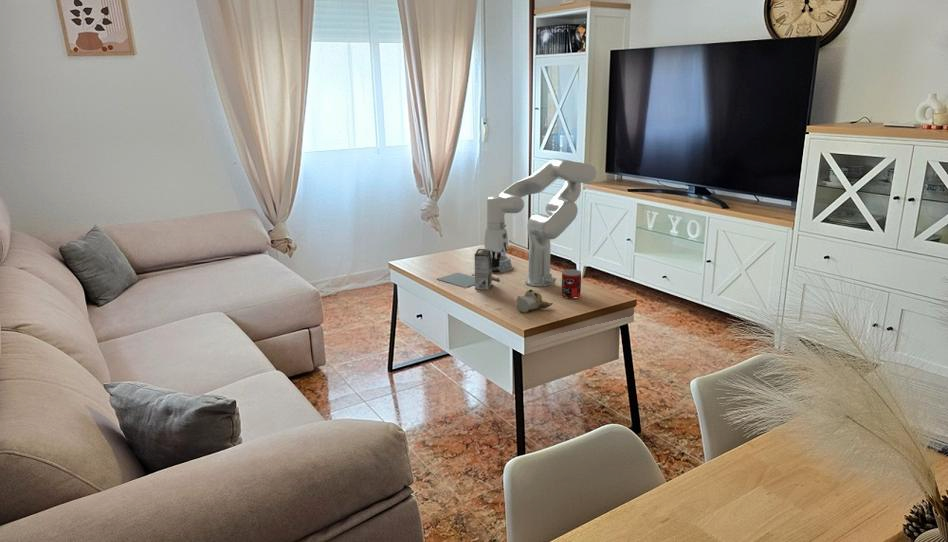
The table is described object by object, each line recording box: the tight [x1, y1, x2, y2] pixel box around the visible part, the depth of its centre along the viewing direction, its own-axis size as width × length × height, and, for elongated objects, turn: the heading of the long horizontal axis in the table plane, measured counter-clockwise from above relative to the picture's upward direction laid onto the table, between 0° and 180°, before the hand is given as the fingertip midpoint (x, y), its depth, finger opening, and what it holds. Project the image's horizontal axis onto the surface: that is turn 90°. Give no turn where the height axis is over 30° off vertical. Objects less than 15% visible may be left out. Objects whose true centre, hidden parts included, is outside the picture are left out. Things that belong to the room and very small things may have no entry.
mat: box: [436, 272, 475, 289], centre depth 287 cm, size 19×14×1 cm
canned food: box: [561, 268, 582, 298], centre depth 261 cm, size 8×8×11 cm
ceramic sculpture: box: [515, 289, 554, 313], centre depth 247 cm, size 11×9×15 cm
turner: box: [471, 272, 500, 282], centre depth 291 cm, size 15×4×1 cm, turn 46°
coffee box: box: [474, 248, 493, 291], centre depth 275 cm, size 9×6×16 cm
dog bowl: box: [492, 255, 513, 273], centre depth 306 cm, size 17×18×5 cm
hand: (495, 266), depth 269 cm, fingers closed
